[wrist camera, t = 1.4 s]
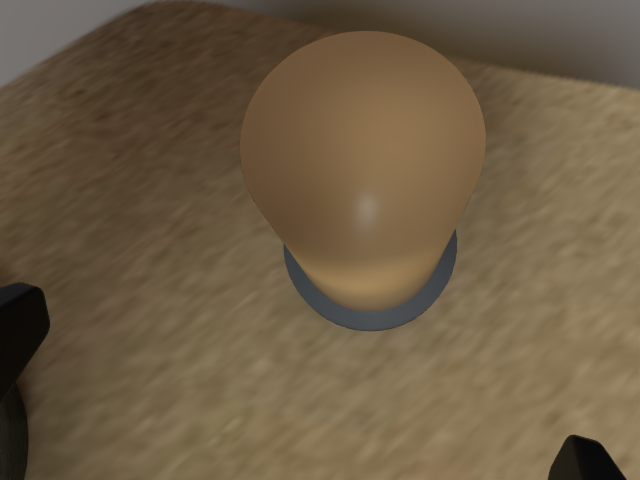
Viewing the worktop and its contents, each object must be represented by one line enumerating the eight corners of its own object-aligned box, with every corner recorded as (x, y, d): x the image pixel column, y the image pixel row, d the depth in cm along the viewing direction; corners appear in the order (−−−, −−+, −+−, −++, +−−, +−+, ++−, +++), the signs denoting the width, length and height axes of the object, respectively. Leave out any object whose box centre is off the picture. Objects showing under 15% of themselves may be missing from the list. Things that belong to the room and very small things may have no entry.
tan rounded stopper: (476, 305, 20) (564, 236, 11) (310, 351, 20) (248, 325, 11) (423, 152, 22) (458, -27, 12) (271, 196, 22) (187, 54, 12)
